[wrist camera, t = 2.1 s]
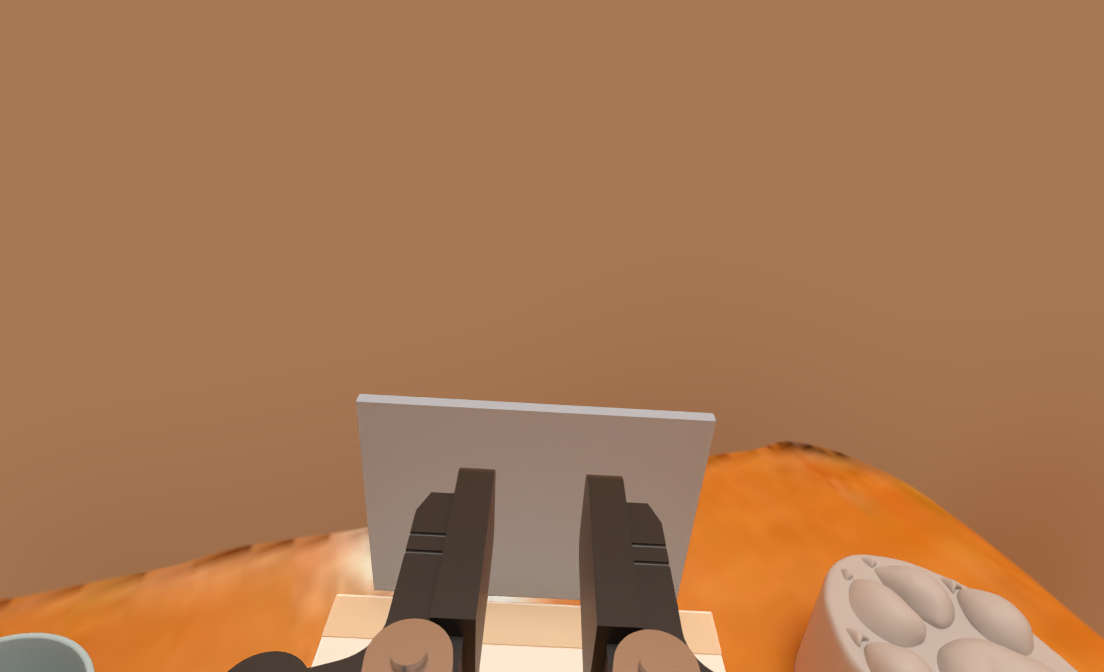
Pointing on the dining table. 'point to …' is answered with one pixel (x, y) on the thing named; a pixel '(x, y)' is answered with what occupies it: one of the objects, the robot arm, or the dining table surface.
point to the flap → (527, 478)
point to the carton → (504, 634)
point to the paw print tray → (915, 625)
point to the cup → (42, 654)
